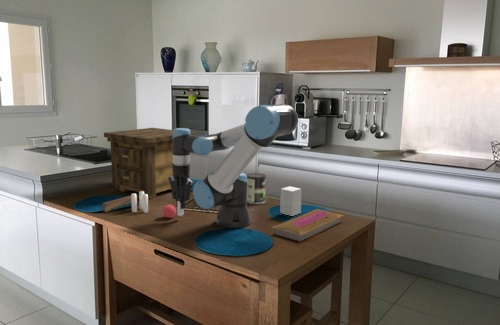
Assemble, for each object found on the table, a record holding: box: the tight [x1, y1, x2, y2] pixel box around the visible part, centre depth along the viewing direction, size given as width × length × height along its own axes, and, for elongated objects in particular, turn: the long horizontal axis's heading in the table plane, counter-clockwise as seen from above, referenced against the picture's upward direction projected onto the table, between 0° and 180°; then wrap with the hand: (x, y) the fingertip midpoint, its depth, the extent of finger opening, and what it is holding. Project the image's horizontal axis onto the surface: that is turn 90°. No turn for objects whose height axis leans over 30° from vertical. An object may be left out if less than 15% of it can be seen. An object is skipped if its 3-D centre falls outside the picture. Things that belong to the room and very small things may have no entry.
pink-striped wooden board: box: [271, 208, 345, 242], centre depth 188 cm, size 35×14×6 cm, turn 140°
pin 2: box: [138, 191, 144, 211], centre depth 210 cm, size 2×2×8 cm
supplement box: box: [279, 185, 302, 217], centre depth 205 cm, size 7×7×13 cm
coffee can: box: [246, 172, 267, 205], centre depth 226 cm, size 10×10×14 cm
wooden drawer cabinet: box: [103, 127, 196, 199], centre depth 244 cm, size 35×35×33 cm
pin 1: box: [131, 192, 138, 213], centre depth 206 cm, size 2×2×8 cm
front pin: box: [142, 194, 149, 214], centre depth 205 cm, size 2×2×8 cm
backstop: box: [102, 194, 139, 213], centre depth 213 cm, size 2×20×4 cm, turn 148°
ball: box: [162, 204, 177, 219], centre depth 198 cm, size 6×6×6 cm
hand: (180, 214), depth 194 cm, fingers closed
